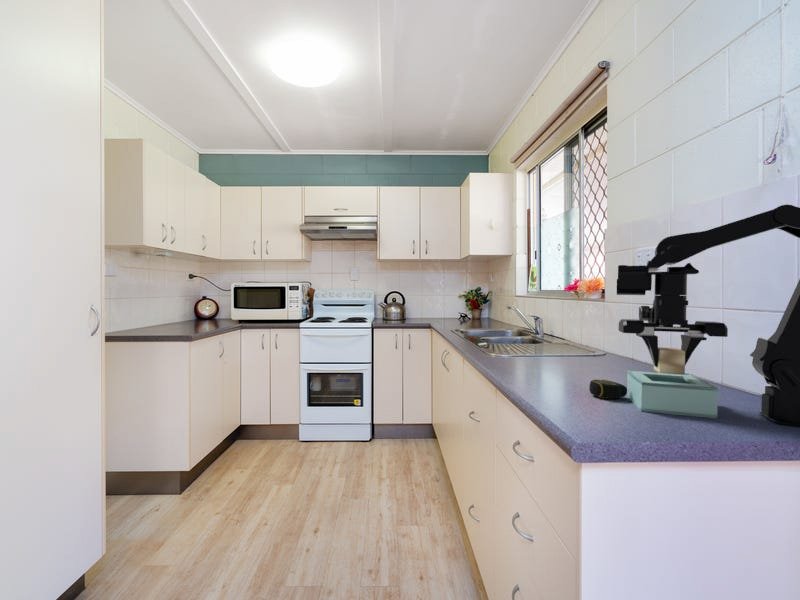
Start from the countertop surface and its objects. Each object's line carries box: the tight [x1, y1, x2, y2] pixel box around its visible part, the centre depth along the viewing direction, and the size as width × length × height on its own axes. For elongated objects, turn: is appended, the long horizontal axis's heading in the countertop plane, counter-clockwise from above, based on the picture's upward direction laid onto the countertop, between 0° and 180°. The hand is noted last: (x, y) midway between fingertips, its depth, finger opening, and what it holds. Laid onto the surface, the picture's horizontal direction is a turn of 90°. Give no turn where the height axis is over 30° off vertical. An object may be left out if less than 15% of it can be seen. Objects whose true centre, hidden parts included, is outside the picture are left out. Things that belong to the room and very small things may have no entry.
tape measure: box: [588, 379, 627, 399], centre depth 91 cm, size 7×7×4 cm
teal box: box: [626, 370, 719, 419], centre depth 84 cm, size 13×13×6 cm
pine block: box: [653, 346, 686, 375], centre depth 84 cm, size 4×4×5 cm
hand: (668, 367), depth 84 cm, fingers closed on pine block, 4 cm apart
